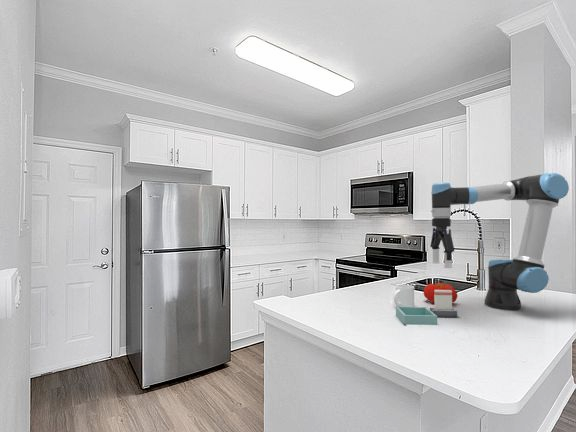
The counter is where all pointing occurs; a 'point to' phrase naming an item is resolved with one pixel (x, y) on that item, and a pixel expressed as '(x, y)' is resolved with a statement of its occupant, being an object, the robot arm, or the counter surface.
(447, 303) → the cream red-striped panel
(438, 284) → the tomato
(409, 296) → the mug
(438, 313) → the metal rectangular holder
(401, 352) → the counter surface
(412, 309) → the tray
